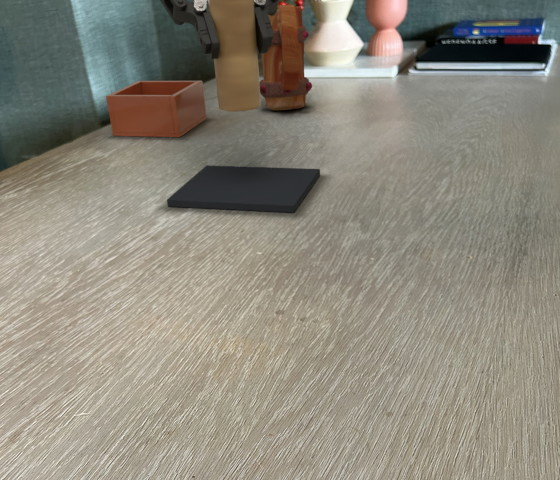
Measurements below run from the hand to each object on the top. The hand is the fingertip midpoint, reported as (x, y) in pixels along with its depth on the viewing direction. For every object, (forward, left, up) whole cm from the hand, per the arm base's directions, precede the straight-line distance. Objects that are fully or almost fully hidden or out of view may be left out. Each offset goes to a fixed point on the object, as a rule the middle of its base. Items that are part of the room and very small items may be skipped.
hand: (240, 49), depth 65 cm
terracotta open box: (-23, +28, -14) cm, 39 cm away
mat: (-1, +2, -14) cm, 15 cm away
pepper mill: (-1, +2, -6) cm, 6 cm away
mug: (-6, +38, -15) cm, 41 cm away
